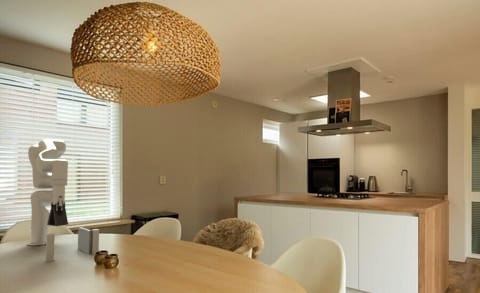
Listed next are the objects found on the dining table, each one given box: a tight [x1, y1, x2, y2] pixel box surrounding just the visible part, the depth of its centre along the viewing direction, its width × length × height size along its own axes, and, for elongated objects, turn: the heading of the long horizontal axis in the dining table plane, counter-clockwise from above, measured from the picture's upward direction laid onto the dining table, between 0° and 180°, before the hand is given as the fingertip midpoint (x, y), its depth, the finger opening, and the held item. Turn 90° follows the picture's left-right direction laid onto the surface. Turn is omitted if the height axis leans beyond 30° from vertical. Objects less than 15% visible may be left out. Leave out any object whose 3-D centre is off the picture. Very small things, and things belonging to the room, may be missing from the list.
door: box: [77, 226, 92, 255], centre depth 179 cm, size 17×2×13 cm, turn 45°
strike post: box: [45, 233, 56, 262], centre depth 161 cm, size 3×3×12 cm
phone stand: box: [47, 201, 69, 227], centre depth 173 cm, size 9×6×12 cm, turn 59°
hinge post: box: [90, 228, 100, 255], centre depth 174 cm, size 3×3×12 cm
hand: (57, 217), depth 173 cm, fingers closed on phone stand, 3 cm apart
